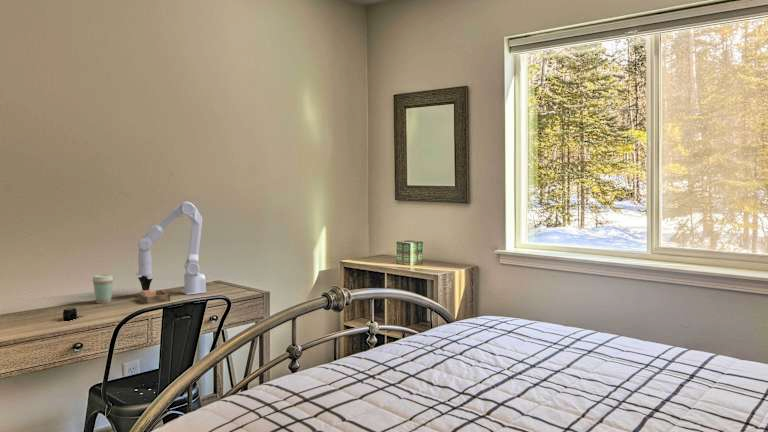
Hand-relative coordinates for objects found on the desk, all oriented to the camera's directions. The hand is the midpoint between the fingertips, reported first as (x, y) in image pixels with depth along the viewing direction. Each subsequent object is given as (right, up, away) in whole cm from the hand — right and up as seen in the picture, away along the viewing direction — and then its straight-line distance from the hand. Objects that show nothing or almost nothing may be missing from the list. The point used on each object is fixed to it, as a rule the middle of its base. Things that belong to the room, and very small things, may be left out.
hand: (145, 292), depth 280 cm
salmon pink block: (+3, -2, -3) cm, 4 cm away
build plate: (-13, -6, -42) cm, 45 cm away
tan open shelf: (+7, -3, -9) cm, 12 cm away
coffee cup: (-14, -3, -13) cm, 19 cm away
